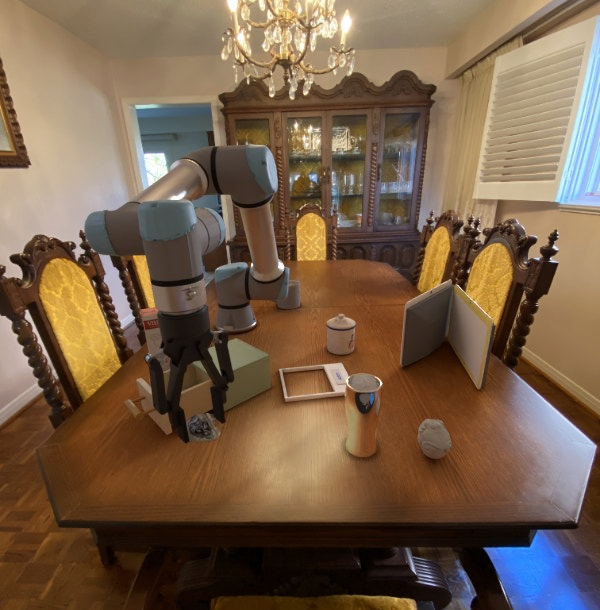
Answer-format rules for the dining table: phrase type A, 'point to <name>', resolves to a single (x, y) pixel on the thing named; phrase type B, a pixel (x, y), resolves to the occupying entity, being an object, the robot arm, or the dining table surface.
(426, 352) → the grey folded panels
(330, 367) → the photo frame
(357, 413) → the beer glass
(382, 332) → the dining table surface
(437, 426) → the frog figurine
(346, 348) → the teacup with lid
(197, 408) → the drawer
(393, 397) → the dining table surface
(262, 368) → the cabinet
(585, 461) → the dining table surface
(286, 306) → the coffee mug
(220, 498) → the dining table surface
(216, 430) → the blueberries
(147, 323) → the cracker box
